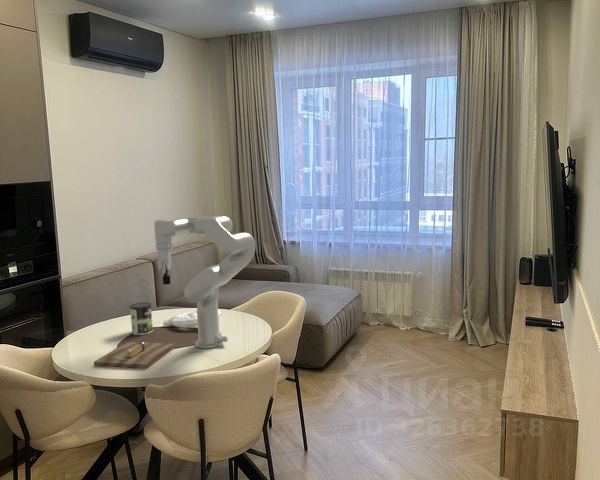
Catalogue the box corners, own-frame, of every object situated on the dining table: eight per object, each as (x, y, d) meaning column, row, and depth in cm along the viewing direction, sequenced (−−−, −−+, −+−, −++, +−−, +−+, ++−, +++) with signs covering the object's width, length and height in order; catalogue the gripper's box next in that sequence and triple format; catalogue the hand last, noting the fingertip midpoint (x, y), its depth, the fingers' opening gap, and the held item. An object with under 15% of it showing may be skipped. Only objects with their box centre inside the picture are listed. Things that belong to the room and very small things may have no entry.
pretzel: (159, 331, 272) (157, 319, 272) (185, 320, 294) (183, 309, 294) (206, 328, 262) (204, 315, 262) (229, 317, 284) (227, 305, 284)
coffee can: (156, 329, 272) (154, 302, 270) (147, 335, 262) (144, 307, 260) (138, 328, 274) (136, 302, 272) (128, 334, 264) (125, 307, 262)
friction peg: (140, 348, 236) (139, 340, 235) (146, 348, 235) (145, 340, 234) (125, 358, 223) (124, 350, 223) (131, 358, 223) (131, 350, 222)
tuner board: (174, 348, 241) (174, 343, 241) (146, 369, 216) (145, 364, 216) (127, 345, 247) (127, 341, 246) (94, 366, 222) (93, 361, 221)
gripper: (158, 244, 256) (161, 281, 258) (153, 248, 241) (156, 287, 243) (174, 243, 256) (176, 280, 259) (170, 247, 242) (172, 287, 244)
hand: (166, 284), depth 251 cm, fingers closed
